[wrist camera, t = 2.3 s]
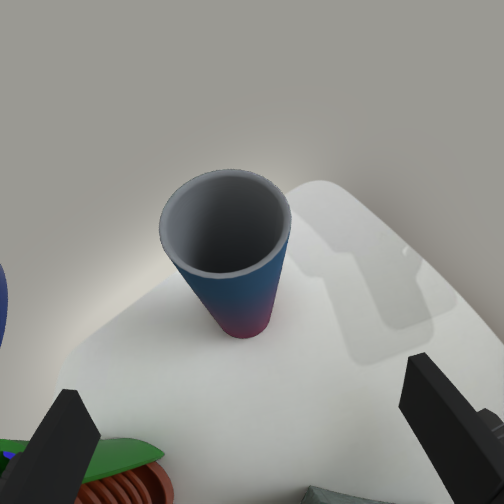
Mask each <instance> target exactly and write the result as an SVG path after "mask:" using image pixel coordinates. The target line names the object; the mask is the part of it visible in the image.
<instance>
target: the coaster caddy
mask: <svg viewBox="0 0 504 504" xmlns="http://www.w3.org/2000/svg"><path fill="white" fill-rule="evenodd" d="M28 443H29V441H22V440H6V439H0V477H2V476H1V475H2V473H3V471H4V470H6V466H7V464H8V463H9V461H10V459H11V458H12V457H13V456H15V455H16V454H17V453H18V452H19V451H20V452H23V451H24V450H25V448H26V446H27V445H28ZM163 455H164V453H163V452H162V451H161V450H159V449H158V448H156V447H154V446H152V445H151V444H148V443H146V442H143V441H140V440H136V439H131V438H118V439H106V440H99V442H98V444H97V447H96V449H95V451H94V454H93V456H92V459H91V461H90V464H89V466H88V469H87V471H86V474H85V476H84V479H83V481H82V484H81V486H80V489H79V492H78V494H77V497H76V500H75V502H74V504H173V500H174V491H173V486H172V483H171V481H170V479H169V477H168V475H167V473H166V472H165V471H164V469H163V468H162V467H161V466H160V465H159V464H158V463H157V462H155V461H156V460H158V459H161V458H162V457H163Z"/></svg>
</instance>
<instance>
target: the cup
mask: <svg viewBox="0 0 504 504" xmlns="http://www.w3.org/2000/svg"><path fill="white" fill-rule="evenodd" d="M290 229H291V212H290V207H289V204H288V202H287V200H286V198H285V196H284V195H283V193H282V192H281V191H280V189H279V188H278V187H276V185H274V184H273V183H272V182H271V181H269V180H268V179H266V178H264V177H263V176H260V175H258V174H255V173H253V172H249V171H244V170H235V169H224V170H216V171H212V172H208V173H205V174H202V175H200V176H197V177H195V178H193V179H192V180H190V181H188V182H186V183H185V184H183V185H182V186H181V187H180V188H179V189H177V190H176V191H175V192H174V194H173V195H172V196H171V197H170V198H169V200H168V201H167V203H166V205H165V207H164V208H163V211H162V214H161V217H160V223H159V235H160V241H161V244H162V246H163V249H164V251H165V252H166V254H167V255H168V257H169V258H170V259H171V261H172V262H173V264H174V265H175V266H176V268H177V269H178V271H179V272H180V273H181V275H182V276H183V277H184V279H185V280H186V282H187V283H188V284H189V286H190V287H191V288H192V290H193V291H194V292H195V294H196V295H197V296H198V298H199V299H200V300H201V302H202V303H203V304H204V306H205V307H206V308H207V310H208V311H209V312H210V314H211V315H212V316H213V317H214V319H215V320H216V321H217V323H218V324H219V325H220V326H221V328H222V329H223V330H224V331H225V332H226V333H227V334H229V335H231V336H233V337H236V338H242V339H243V338H250V337H254V336H256V335H258V334H259V333H261V332H262V331H263V330H264V329H265V328H266V326H267V325H268V323H269V320H270V317H271V313H272V308H273V304H274V300H275V296H276V291H277V287H278V283H279V279H280V274H281V270H282V265H283V261H284V257H285V252H286V248H287V243H288V239H289V234H290Z"/></svg>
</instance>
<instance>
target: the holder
mask: <svg viewBox="0 0 504 504" xmlns="http://www.w3.org/2000/svg"><path fill="white" fill-rule="evenodd" d="M301 504H394V503H388V502H381V501H376V500H370V499H365V498H360V497H355V496H350V495H346V494H341V493H337V492H333V491H329V490H325V489H322V488H318V487H314V486H311V485H310V486H309V488H308V490H307V492H306V494H305V496H304V498H303V500H302V502H301Z"/></svg>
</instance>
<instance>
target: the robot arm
mask: <svg viewBox="0 0 504 504" xmlns="http://www.w3.org/2000/svg"><path fill="white" fill-rule="evenodd" d="M399 409H400V410H401V412H402V414H403V415H404V417H405V418H406V420H407V422H408V423H409V425H410V427H411V428H412V430H413V432H414V433H415V435H416V437H417V439H418V440H419V442H420V444H421V445H422V447H423V449H424V450H425V452H426V454H427V456H428V457H429V459H430V461H431V463H432V464H433V466H434V468H435V469H436V471H437V473H438V475H439V477H440V478H441V480H442V482H443V484H444V485H445V487H446V489H447V491H448V493H449V494H450V496H451V498H452V500H453V502H454V504H504V423H503V422H502V420H501V419H500V418H499V417H498V416H497V415H496V414H495V413H493V412H491V411H489V410H488V409H486V408H484V409H482V410H480V411H478V412H476V411H475V409H474V408H473V407H472V406H471V405H470V403H469V402H468V401H467V400H466V399H465V398H464V396H463V395H462V394H461V393H460V392H459V391H458V389H457V388H456V387H455V386H454V385H453V384H452V383H451V381H450V380H449V379H448V378H447V377H446V376H445V375H444V373H443V372H442V371H441V370H440V369H439V368H438V367H437V366H436V364H435V363H434V362H433V361H432V360H431V359H430V358H429V357H428V355H427V354H426V353H425V352H424V353H420V354H417V355H413V356H410V357H408V362H407V368H406V374H405V379H404V384H403V389H402V393H401V398H400V402H399ZM100 437H101V435H100V433H99V431H98V429H97V428H96V426H95V424H94V422H93V420H92V419H91V417H90V415H89V413H88V411H87V409H86V407H85V405H84V403H83V401H82V399H81V397H80V395H79V393H78V391H77V390H68V389H62V391H61V392H60V394H59V395H58V397H57V398H56V400H55V402H54V403H53V405H52V406H51V408H50V409H49V411H48V412H47V414H46V416H45V417H44V419H43V420H42V422H41V423H40V425H39V427H38V428H37V430H36V431H35V433H34V435H33V437H32V438H31V440H30V441H29V443H28V445H27V446H26V448H25V450H24V451H23V452H20V451H19V452H18V453H17V454H16V455H15V456H13V457H12V458H11V459H10V461H9V463H8V464H7V466H6V470H4V471H3V473H2V475H1V476H2V477H0V504H74V502H75V500H76V497H77V494H78V492H79V489H80V486H81V484H82V481H83V479H84V476H85V474H86V471H87V469H88V466H89V464H90V461H91V459H92V456H93V454H94V451H95V449H96V447H97V444H98V442H99V439H100Z"/></svg>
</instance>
